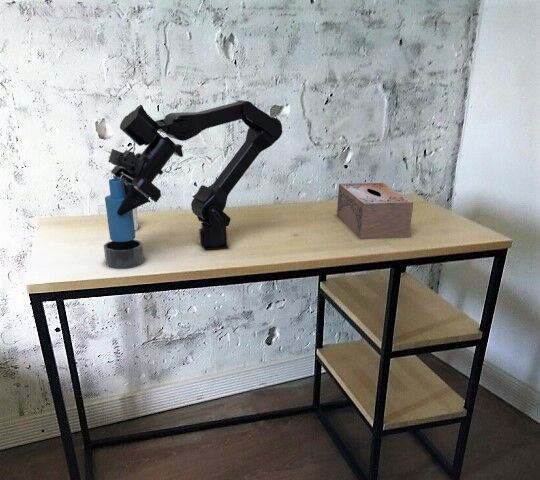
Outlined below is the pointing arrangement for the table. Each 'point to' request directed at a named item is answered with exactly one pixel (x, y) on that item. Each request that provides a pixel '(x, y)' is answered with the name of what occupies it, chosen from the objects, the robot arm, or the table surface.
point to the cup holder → (124, 254)
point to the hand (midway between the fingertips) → (114, 211)
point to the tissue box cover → (374, 210)
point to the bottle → (118, 225)
